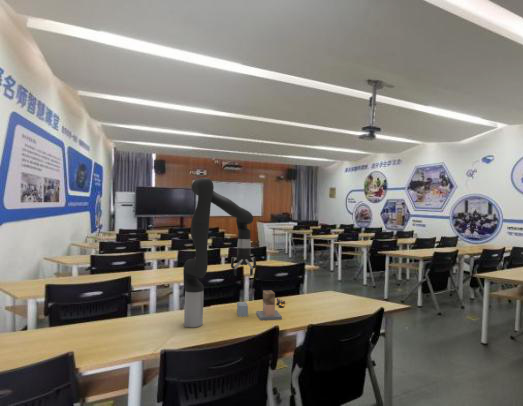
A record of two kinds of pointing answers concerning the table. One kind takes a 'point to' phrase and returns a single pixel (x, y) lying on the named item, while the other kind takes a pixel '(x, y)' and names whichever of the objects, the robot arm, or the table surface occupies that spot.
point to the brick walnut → (269, 297)
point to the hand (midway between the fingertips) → (243, 275)
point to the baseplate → (262, 317)
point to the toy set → (280, 303)
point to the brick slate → (242, 309)
